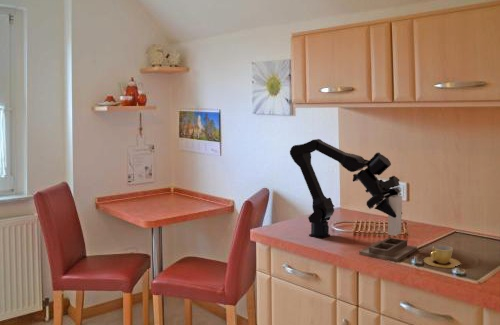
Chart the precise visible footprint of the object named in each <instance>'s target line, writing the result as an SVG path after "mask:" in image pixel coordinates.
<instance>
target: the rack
mask: <svg viewBox="0 0 500 325" xmlns="http://www.w3.org/2000/svg"><path fill="white" fill-rule="evenodd" d="M417 250H418V247H417V246H413V245H408V240H406V239H401V238H395V237H387V238H384V239H383V240H379V241H378V242H375V243H374V244H372V245H370V246H368V247H365V248H363V249H362V250H359V254H358V255H360V256H365V257H369V258H375V259H380V260H383V259H384V261H388V260H390V261H389V262H393V261H395V262H394V263H397V262H399V261H401V260H402V259H404V258H406V257H408V256H409V255H411V254H413V253H414V252H416V251H417Z"/></svg>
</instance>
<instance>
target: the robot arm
mask: <svg viewBox="0 0 500 325" xmlns="http://www.w3.org/2000/svg"><path fill="white" fill-rule="evenodd" d="M315 151H317V152H319V153H321V154H323V155H324V156H327V157H328V158H330V159H333V160H335V161H337V162H338V163H339V164H340V165H341V167H343V168H344V169H346V171H348V172H350V173H354V174H353V177H352V182H357V181H359V182H360V183H361V185H363V187H364V188H365V192H366V193H368V194H370V196H371V197H369V199H368V200H367V201H366V206H367V208H369V209H368V210H371V209H373V208H374V209H375V210H377V211H380V212H382V213H384V214H385V215H390V216H392V217H394V218H395V217H396V216H397V215H396V214H395V212H394V211H393V209H392V208H391V206H390V205H389V197H391V196H393V195H398V196H399V194H400V193H401V190H400V189H399V188H398V187H399V186H400V184H401V183H400V179H399V178H398V176H396V175H392V176H390V177H389V179H388V180H385V181H384V180H383V179H379V178H378V177H377V176H381V175H382V174H383V173H384V172H385V171H386V170H388V169H389V168H390V166H392V162H391V161H390V160H389V158H388V157H386V156H385V155H383V154H381V153H380V152H376V153H374V155H373V156H372V157H371V158H370V159H369V160H368V159H365V158H364V157H363V156H361V155H357V154H355V153H351V152H350V153H348V152H347V151H346V152H345V151H343V150H341V149H339V148H337V147H335V146H333V145H331V144H329V143H327V142H325V141H323V140H322V139H320V138H317V139H312V140H309V141H307V142H305V143H302V144H297V145H296V144H294V145H293V146H291V148H290V150H289V154H290V157H291V158H292V161H293V162H294V163H295V164H296V165H297V166H298V168H299V169H300V171H301V174H302V176H303V178H304V181H305V183H306V186H307V188H308V190H309V193H310V196H311V198H312V206H311V207H312V213H311V214H310V215H309V216H308V217H307V218H308V222H309V223H311V225H310V227H311V228H310V229H311V230H310V232H311V233H309V234H308V237H313V238H316V239H324V238H327V237H331V234H330V232H329V230H330V228H329V221H330V220H331V217H332V216H333V215H334V213H335V205H334V204H333V201H332V198H331V197H327V196H325V195H324V192H323V190H322V186H321V184H320V182H319V179H318V177H317V174H316V173H315V170H314V167H313V166H312V154H311V153H314V152H315ZM364 168H365V169H364ZM358 171H359V172H358ZM355 172H358V173H355Z"/></svg>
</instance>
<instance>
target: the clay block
mask: <svg viewBox="0 0 500 325" xmlns="http://www.w3.org/2000/svg"><path fill="white" fill-rule="evenodd" d="M402 204H403V195H399V194H398V195H393V196H391V197H389V205H390V206H391V208H392V209H393V211H394V212H395V214H396V215H397V216H396V217H395V218H394V217H392V216H390V215H388V214H387V215H388V216H387V217H388V218H387V235H389V236H395V237H396V236H398V235H400V234H401V233H402V215H403V205H402Z"/></svg>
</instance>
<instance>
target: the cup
mask: <svg viewBox="0 0 500 325" xmlns="http://www.w3.org/2000/svg"><path fill="white" fill-rule="evenodd" d="M453 250H454V248H453V247H451V246H450V245H444V244H437V245H436V244H435V245H433V246H432V252H431V253H430V256H427V257H425V258H423V260H424V261H423V262H424V263H425V264H427V265H430V266H433V267H436V268H444V269H445V268H449V269H450V268H456V267H455V266H456V265H457V264H461V265H462V263H461V262H460V261H459V260H458V259H455V258H453V257H452V256H453ZM434 261H436V262H437V263H438V264H437V263H435V262H434ZM448 263H450V264H448Z"/></svg>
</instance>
